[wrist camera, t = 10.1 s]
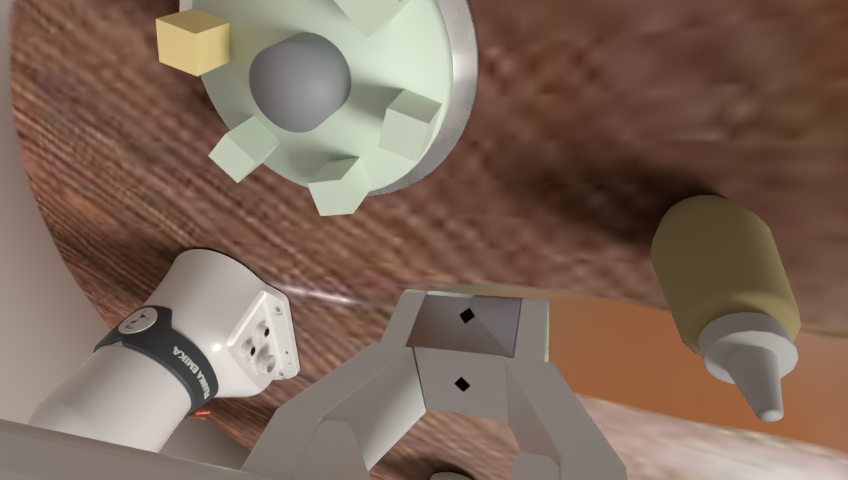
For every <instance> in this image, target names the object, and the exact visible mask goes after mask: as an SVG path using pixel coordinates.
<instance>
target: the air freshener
mask: <svg viewBox="0 0 848 480" xmlns="http://www.w3.org/2000/svg"><path fill="white" fill-rule="evenodd" d="M430 480H471V479H470V478H468V477H466V476H464V475H461V474H458V473H453V472H440V473H436V474H433V475H432V477H431V478H430Z"/></svg>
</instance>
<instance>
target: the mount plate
mask: <svg viewBox="0 0 848 480" xmlns="http://www.w3.org/2000/svg"><path fill="white" fill-rule="evenodd" d="M437 2H438V4H439V7H440V9H441V12H442V14H443V17H444V20H445V22H446V26H447V30H448V34H449V38H450V42H451V49H452V56H453V86H452V95H451V100H450V104H449V108H448V112H447V115H446V117H445V120H444V122H443V125H442V127H441V129H440V131H439V133H438V134H437V136H436V138H435V139H434V141H433V143H432V144H431V146H430V148H429V149H428V151H427V153H426V154H425V155H424V156H423V158H422V159H421V160H420V161H419V163H418V164H417V165H416V166H415V167H414V168H412V169H411V170H410V171H409V172H408V173H407V174H406V175H404V176H403V177H401V178H400V179H398V180H397V181H395V182H393V183H391V184H389V185H387V186H385V187H383V188H380V189H376V190H373V191H370V192H368V194H367V195H366V196H370V195H380V194H385V193H390V192H393V191H396V190H399V189H402V188H405V187H407V186H409V185H411V184H413V183H415V182H417V181H419V180H421V179H422V178H423V177H425V176H426V175H428V174H429V173H431V172H432V171H433V170H434V169H435V168H436V167H437V166H438V165H439V164H440V163H441V162H443V161H444V159H445V158H446V157H447V156H448V154H449V153H450V152H451V150H452V149H453V148H454V146H455V145H456V143H457V141H458V140H459V138H460V136H461V134H462V133H463V131H464V129H465V127H466V124H467V122H468V119H469V117H470V114H471V112H472V109H473V105H474V101H475V97H476V93H477V87H478V78H479V44H478V37H477V29H476V24H475V20H474V16H473V13H472V9H471V5H470V2H469V0H437ZM191 8H192V0H180V10H179V12H182V11H186V10H189V9H191Z"/></svg>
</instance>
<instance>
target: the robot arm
mask: <svg viewBox="0 0 848 480" xmlns="http://www.w3.org/2000/svg"><path fill="white" fill-rule="evenodd" d="M548 340H549V300H548V299H540V298H514V297H499V296H484V295H469V294H459V293H448V292H438V291H422V290H412V289H407V290H405V291H404V292H403V293H402V295H401V297H400V299H399V301H398V304H397V306H396V308H395V310H394V312H393V315H392V317H391V319H390V321H389V323H388V325H387V328H386V330H385V332H384V334H383V336H382V339H381V341H380V343H379V344H376V343H372V344H371V345H369V346H368V347H366V348H365V349H363V350H362V351H360V352H359V353H358V354H356V355H355V356H353V357H352V358H350V359H349V360H347V361H346V362H345V363H343V364H342V365H340V366H339V367H337V368H336V369H334V370H333V371H331V372H330V373H329V374H327V375H326V376H324V377H323V378H321V379H320V380H318V381H317V382H316V383H314V384H313V385H311V386H310V387H308V388H307V389H305V390H304V391H302V392H301V393H300V394H298V395H297V396H295V397H294V398H292V399H291V400H289V401H288V402H287V403H285V404H284V405H282V406H281V407H279V408H278V409H277V410H276V412H275V413H274V415H273V417H272V418H271V420H270V422H269V423H268V425H267V426H266V428H265V430H264V431H263V433H262V435H261V436H260V438H259V440H258V441H257V443H256V445H255V446H254V448H253V450H252V451H251V453H250V455H249V456H248V458H247V460H246V462H245V463H244V465H243V466H242V468H241V470H235V469H230V468H226V467H221V466H216V465H212V464H207V463H202V462H198V461H193V460H188V459H183V458H179V457H174V456H170V455H165V454H161V453H158V452H159V451H160V449H161V448H162V446H163V445H164V443H165V442H166V441H167V439H168V438H169V437H170V435H171V434H172V432H173V431H174V430H175V428H176V427H177V426H178V424H179V423H180V422H181V420H182V419H183V418H187V417H194V418H199V419H206V418H205V417H202V416H199V415H198V414H208V413H210V411H209V410H205V409H199V407H201V406H202V405H204V404H205V403H206V402H208V401H209V400H211V399H212V398H213V397H249V396H253V395H256V394H258V393H260V392H262V391H263V390H264V389H265V388H266V387H267V386H268V385H269V384H270V382H271V381H272V380H279V379H287V378H291V377H294V376H296V375H297V373H298V372H299V371H300V366H299V360H298V354H297V348H296V342H295V337H294V331H293V325H292V319H291V313H290V308H289V302H288V299H287V297H286V296H285V295H284V294H283V293H281V292H280V291H278V290H276V289H275V288H273V287H271V286H269V285H267V284H265V283H264V282H262V281H261V280H260V279H259V278H258V277H257V276H255V275H254V274H253V273H252V272H251V271H250V270H249V269H247V268H246V267H245V266H243V265H242V264H240V263H239V262H237V261H235V260H233V259H232V258H230V257H228V256H225V255H223V254H220V253H217V252H214V251H210V250H204V249H193V250H188V251H185V252H183V253H181V254H180V255H178V256H177V258H176V259H175V261H174V263H173V264H172V266H171V268H170V270H169V271H168V273H167V274H166V276H165V277H164V279H163V280H162V282H161V283H160V284H159V286H158V287H157V288H156V289H155V291H154V292H153V293H152V294H151V296H150V297H149V298H148V299H147V300H146V301H145V303H144V304H143V305H142V306H141V307H140V308H138V309H137V310H135V311H134V312H133V313H131V314H130V315H129V316H127V317H126V318H125V319H124V320H122V321H121V322H120V323H119V324H118V325H117V326H116V327H115V328H114V329H113V330H111V331H110V332H109V333H108V334H107V335H106V336H105V337H104V338H103V339H102V340H101V341H100V342H99V343H98V344H97V345H96V346H95V349H94V354H93V355H92V356H90V357H89V358H88V359H87V360H86V361H85V362H84V363H83V364H82V365H81V366H79V367H78V368H77V369H76V370H75V371H74V372H73V373H72V374H71V375H70V376H69V377H67V378H66V379H65V381H63V382H62V383H61V384H60V385H59V386H58V387H57V388H56V389H55V390H53V392H51V393H50V394H49V395H48V396H47V397H46V398H45V399H44V400H43V401H42V402H41V403H40V404H39V405H38V406H37V407H36V409H35V410H34V412H33V414H32V416H31V418H30V420H29V423H28V425H26V424H22V423H17V422H12V421H8V420H3V419H0V480H371V479H370V476H369V473H368V471H369V470H370V469H371V468H372V467H373V466H374V465H375V464H376V463H377V462H378V461H379V460H380V459H381V458H382V457H383V455H384V454H385V453H386V452H387V451H388V450H389V449H390V448H391V447H392V446H393V445H394V444H395V443H396V442H397V441H398V440H399V439H400V438H401V437H402V436H403V435H404V434H405V433H406V432H407V431H408V430H409V429H410V428H411V427H412V426H413V425H414V424H415V423H416V422H417V420H418V419H419V418H420V417H421V416H422V415H423V414H424V413H425V412H426V409H428V410H436V411H445V412H453V413H461V414H469V415H474V416H480V417H486V418H491V419H497V420H503V421H508V422H509V426H510V428H511V430H512V432H513V434H514V437H515V439H516V441H517V443H518V445H519V448H520V450H521V452H522V453H521V454H520V455H518V456H517V457H515V458H514V463H513V470H512V478H511V480H627V472H626V467H625V465H624V464H623V462H622V461H621V460H620V458H619V457H618V455H617V454H616V452H615V451H614V450H613V448H612V447H611V445H610V444H609V443H608V441H607V440H606V438H605V437H604V435H603V434H602V433H601V431H600V430H599V428H598V427H597V425H596V424H595V423H594V421H593V420H592V418H591V417H590V416H589V414H588V413H587V411H586V410H585V408H584V407H583V406H582V404H581V403H580V401H579V400H578V399H577V397H576V396H575V394H574V393H573V391H572V390H571V389H570V387H569V386H568V384H567V383H566V382H565V380H564V379H563V377H562V376H561V374H560V373H559V372H558V370H557V369H556V367H555V366H554V364H553V363H551V362H548V343H549V341H548Z"/></svg>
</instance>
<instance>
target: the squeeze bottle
mask: <svg viewBox="0 0 848 480" xmlns="http://www.w3.org/2000/svg"><path fill="white" fill-rule="evenodd" d="M650 259H651V261H652V264H653V267H654V270H655V272H656V275H657V278H658V280H659V283H660V285H661V288H662V290H663V293H664V295H665V298H666V301H667V303H668V306H669V308H670V311H671V313H672V316H673V319H674V321H675V324H676V326H677V329H678V331H679V334H680V336H681V339H682V342H683V343H684V344H685V345H686V346H688V347H689V348H690V349H691V350H692V351H693V352H694V353H696V354H698V355H701V356H702V359H703V361H704V365H705V368H706V370H708V371H709V372H710V373H711V374H712V375H713V376H714V377H716V378H718V379H720V380H723V381H725V382H728V383H730V384H736V385H737V387H738V389H739V390H740V392H741V393H742V395H743V396H744V398H745V399H746V401H747V402H748V404H749V406H750V407H751V408H752V410H753V412H754V413H755V415H756V416H757V417H758V418H759V419H760V420H763V421H768V422H771V421H777V420H779V419H781V418H782V417H783V406H782V395H781V386H780V378H782V377H783V376H785V375H786V374H787V373H789V372H790V371H791V370H793V368H794V366H795V364H796V362H797V360H798V354H797V350H796V346H795V344H794V342H793V341H794V340H795V338H796V336H797V334H798V331H799V329H800V327H801V321H800V316H799V310H798V307H797V305H796V302H795V299H794V296H793V293H792V290H791V288H790V285H789V282H788V279H787V276H786V273H785V271H784V268H783V265H782V262H781V259H780V256H779V254H778V251H777V248H776V245H775V242H774V239H773V237H772V234H771V231H770V228H769V227H768V226H767V225H766V224H765V223H764V222H763V221H762V220H761V219H760V218H759V217H758V216H757V215H756V214H754V213H752V212H751V211H749V210H747V209H745V208H743V207H741V206H739V205H737V204H735V203H733V202H731V201H729V200H727V199H724V198H721V197H719V196H716V195H697V196H694V197H690V198H686V199H683V200H681V201H680V202H678V203H677V204H675V205H674V206H672V207H670V208H669V210H668V211H667V212H666V214H665V215H664V216H663V218H662V219H661V221H660V224H659V226H658V228H657V231H656V233H655V235H654V238H653V241H652V246H651V251H650Z"/></svg>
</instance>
